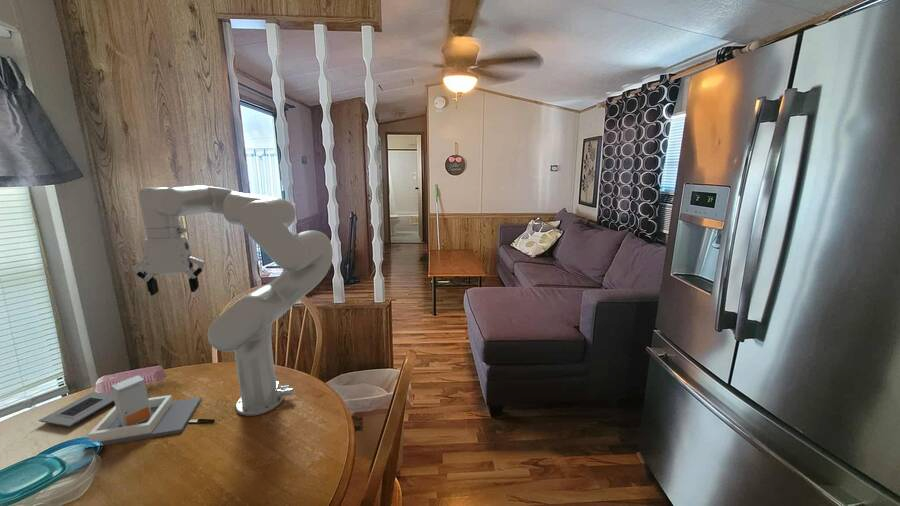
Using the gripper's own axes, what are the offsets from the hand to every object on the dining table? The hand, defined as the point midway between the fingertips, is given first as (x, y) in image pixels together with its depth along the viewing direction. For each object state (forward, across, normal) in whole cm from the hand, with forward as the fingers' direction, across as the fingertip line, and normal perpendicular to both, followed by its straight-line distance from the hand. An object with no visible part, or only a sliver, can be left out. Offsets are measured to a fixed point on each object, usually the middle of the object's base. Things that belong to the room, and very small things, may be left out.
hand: (174, 292), depth 102 cm
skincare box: (+34, +11, +9) cm, 36 cm away
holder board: (+34, +8, +9) cm, 36 cm away
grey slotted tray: (+35, +28, -1) cm, 45 cm away
